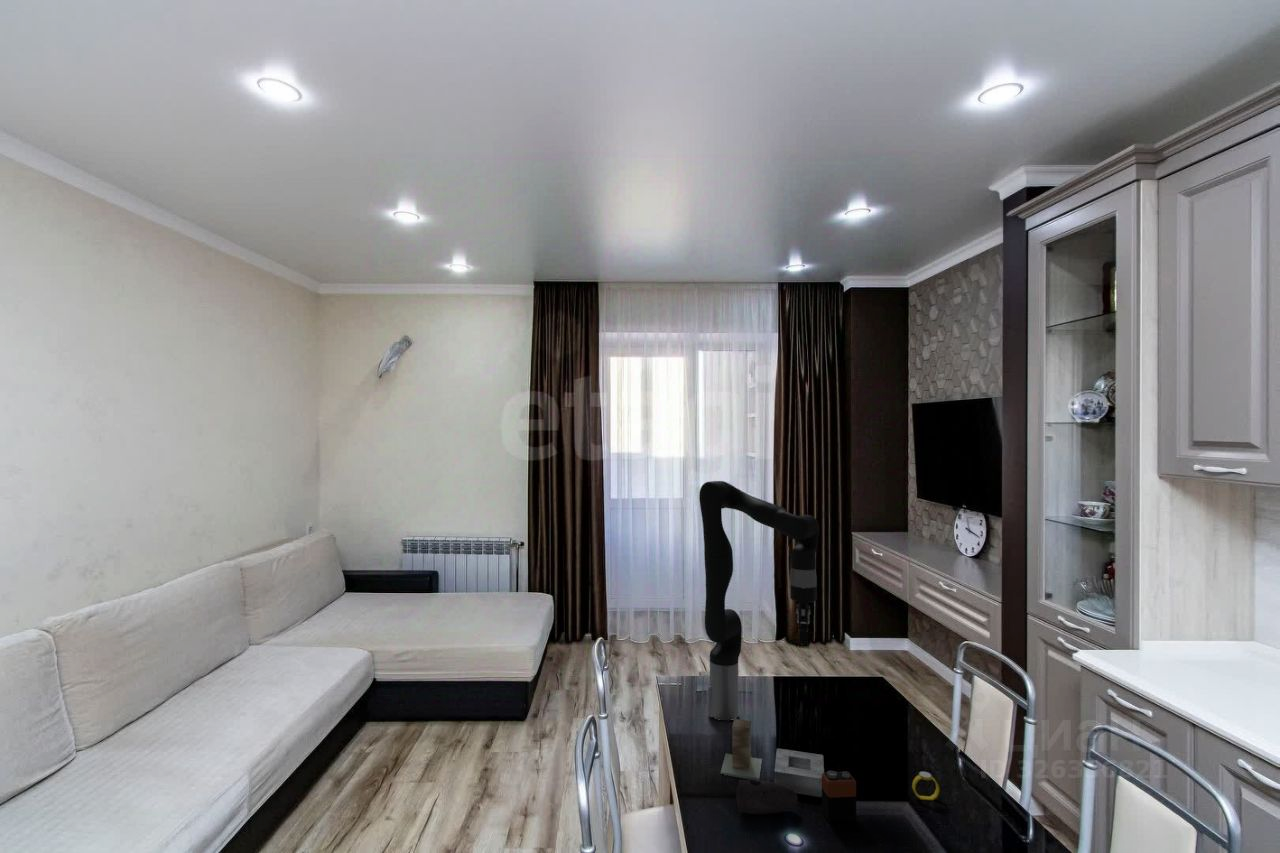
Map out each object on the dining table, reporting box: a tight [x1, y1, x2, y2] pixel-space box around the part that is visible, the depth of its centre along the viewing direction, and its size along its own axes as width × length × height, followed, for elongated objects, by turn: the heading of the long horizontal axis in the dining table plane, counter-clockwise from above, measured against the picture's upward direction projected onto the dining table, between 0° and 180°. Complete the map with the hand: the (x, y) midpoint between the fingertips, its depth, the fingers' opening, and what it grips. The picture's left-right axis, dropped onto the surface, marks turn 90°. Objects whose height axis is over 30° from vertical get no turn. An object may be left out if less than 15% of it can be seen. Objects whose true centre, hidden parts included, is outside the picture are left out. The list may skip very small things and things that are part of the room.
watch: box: [911, 771, 940, 801], centre depth 144 cm, size 6×3×6 cm, turn 84°
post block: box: [773, 748, 825, 798], centre depth 151 cm, size 12×12×4 cm
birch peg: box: [731, 718, 752, 771], centre depth 157 cm, size 4×4×11 cm
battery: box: [821, 770, 857, 823], centre depth 137 cm, size 4×7×10 cm, turn 95°
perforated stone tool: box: [735, 779, 799, 815], centre depth 138 cm, size 15×5×7 cm, turn 90°
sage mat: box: [720, 753, 763, 780], centre depth 157 cm, size 10×10×1 cm
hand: (803, 639), depth 171 cm, fingers open, 8 cm apart
